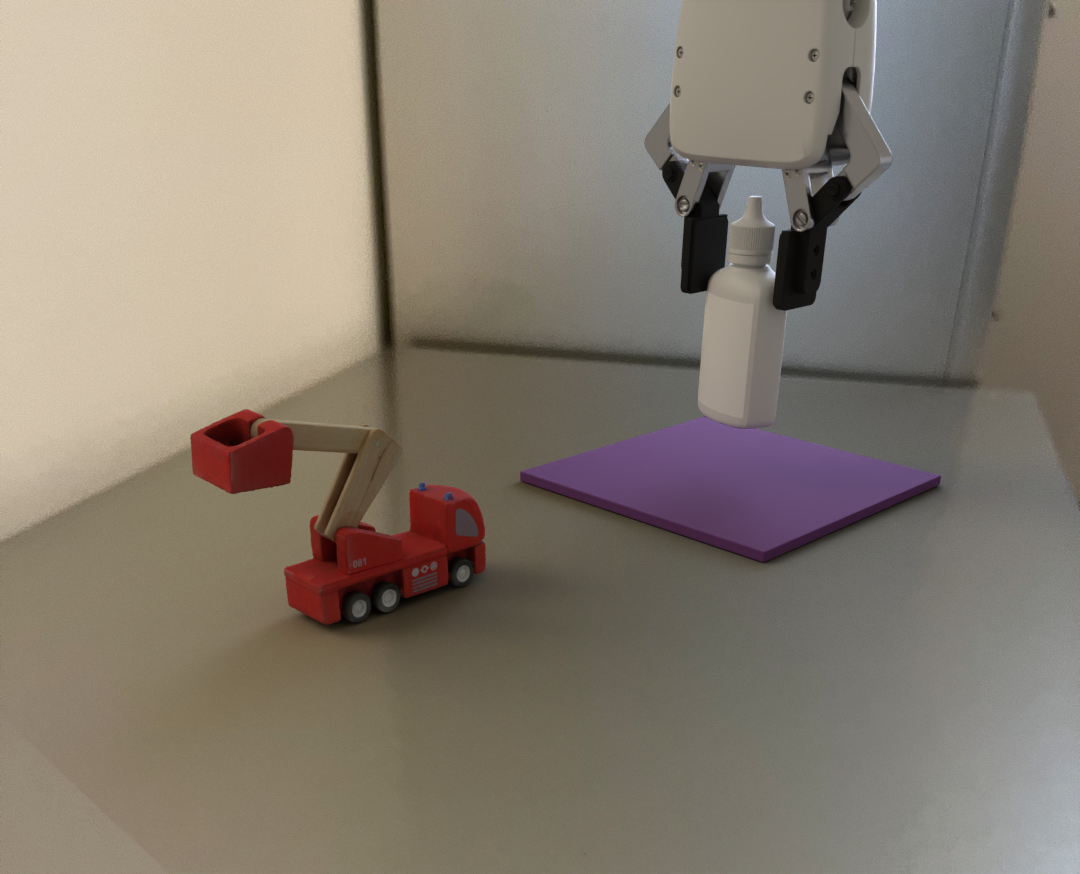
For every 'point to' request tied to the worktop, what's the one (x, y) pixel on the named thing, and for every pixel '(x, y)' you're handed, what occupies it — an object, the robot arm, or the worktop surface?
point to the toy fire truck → (348, 514)
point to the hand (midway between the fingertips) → (746, 295)
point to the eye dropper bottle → (743, 329)
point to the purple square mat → (732, 485)
